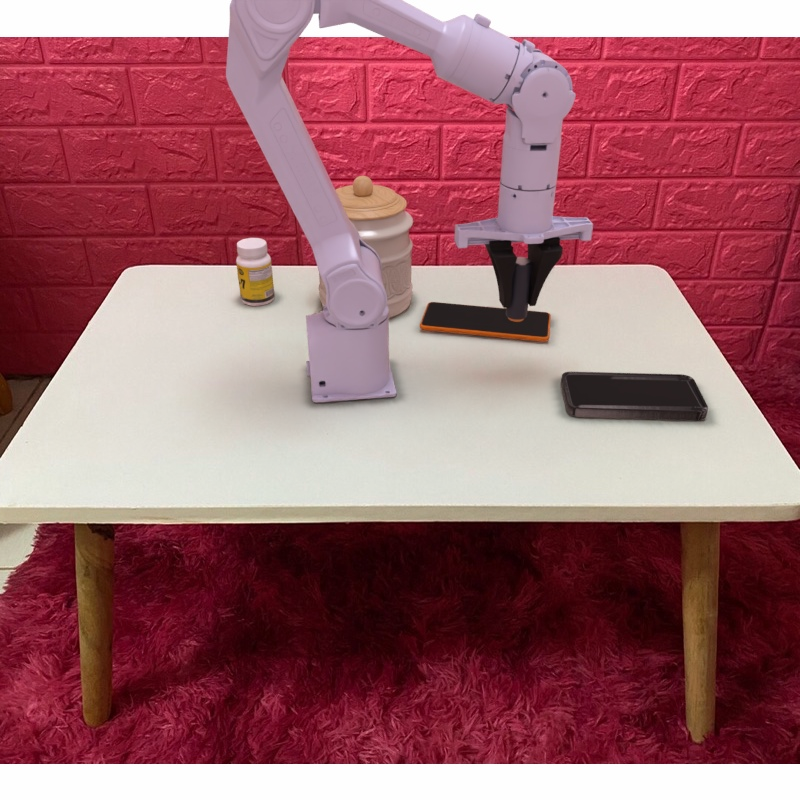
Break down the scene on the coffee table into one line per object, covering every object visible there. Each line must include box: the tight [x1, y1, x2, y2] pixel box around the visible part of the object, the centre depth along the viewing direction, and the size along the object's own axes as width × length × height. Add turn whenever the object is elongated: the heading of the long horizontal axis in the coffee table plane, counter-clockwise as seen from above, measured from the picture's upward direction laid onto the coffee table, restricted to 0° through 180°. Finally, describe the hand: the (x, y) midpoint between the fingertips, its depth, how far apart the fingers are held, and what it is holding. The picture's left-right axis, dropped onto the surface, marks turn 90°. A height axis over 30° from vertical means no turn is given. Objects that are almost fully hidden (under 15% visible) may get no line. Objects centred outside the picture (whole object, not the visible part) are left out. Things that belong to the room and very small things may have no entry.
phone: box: [560, 371, 709, 421], centre depth 86 cm, size 8×1×15 cm
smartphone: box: [419, 301, 552, 343], centre depth 102 cm, size 8×17×1 cm, turn 79°
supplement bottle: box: [235, 237, 276, 307], centre depth 106 cm, size 5×5×8 cm
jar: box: [318, 175, 414, 319], centre depth 103 cm, size 13×13×18 cm
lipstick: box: [506, 256, 532, 322], centre depth 85 cm, size 2×2×7 cm
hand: (517, 303), depth 86 cm, fingers closed on lipstick, 2 cm apart
